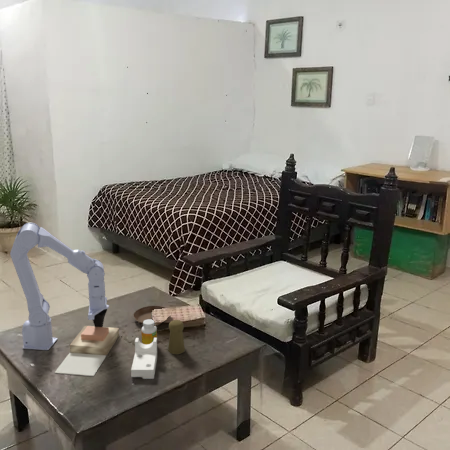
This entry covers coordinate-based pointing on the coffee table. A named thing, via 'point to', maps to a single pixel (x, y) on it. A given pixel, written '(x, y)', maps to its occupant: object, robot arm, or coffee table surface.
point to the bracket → (144, 359)
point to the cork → (176, 337)
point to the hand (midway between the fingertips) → (99, 328)
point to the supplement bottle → (148, 331)
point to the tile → (94, 333)
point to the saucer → (144, 313)
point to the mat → (80, 364)
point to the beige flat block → (94, 343)
